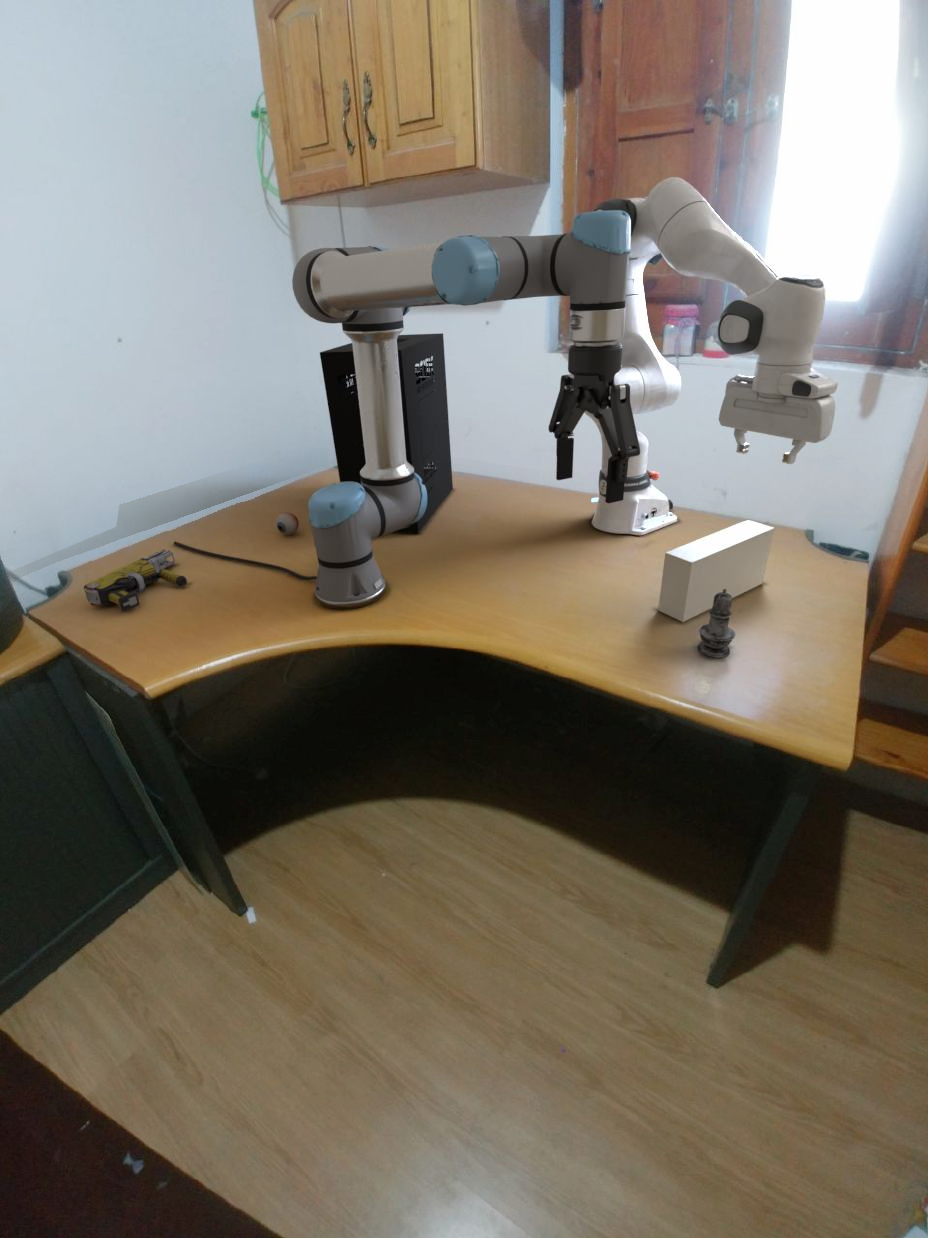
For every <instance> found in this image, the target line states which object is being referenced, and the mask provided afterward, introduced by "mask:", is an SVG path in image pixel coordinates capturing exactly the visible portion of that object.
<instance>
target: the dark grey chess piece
mask: <svg viewBox="0 0 928 1238" xmlns="http://www.w3.org/2000/svg"><path fill="white" fill-rule="evenodd" d="M726 592H727V590H726V589H724V590H723V592H720V593H717V594H716V595H715V597H714V601H713V607H712V608H711V609H709V610H708V613H709V615H710V617H709V622H708V623H705V624H702V625H701V626H700V627H699V628H698V633H699V634H700V635H699V636H700V640H701V642H700V643H698V645H697V649H698V651H699V652H700V653H701V654H703V655H705V656H707V657H710V658H715V659H716V658H720V659H721V658H726V657H727V656H729V655H730V653H731V648H730V647H729V646H730V644H731V643H732V641H733V640H734V639H735V637H736V632H735V630H734V629H732V627H730V626H729V622H730V619H731V617H732V616H733V613H732V611H731V610H732V605H733V598H732V596H731V595H730V594H728V593H726Z"/></svg>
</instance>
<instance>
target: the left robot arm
mask: <svg viewBox="0 0 928 1238" xmlns="http://www.w3.org/2000/svg"><path fill="white" fill-rule="evenodd" d="M630 230H631V220H630V216H629V215H628V213H626V212H625V211H621V210H608V211H594V212H593V211H587V212H583V213H582V212H581V213H577V214H576V215H575V216H574V218H573V220H572V226H571V231H570V232H566V233H562V234H546V235H544V234H543V235H510V236H508V235H504V236H477V235H475V234H474V235H473V234H470V235H459V236H455V237H451V238H448V239H446V240H445V241H439V242H431V243H425V244H419V245H412V246H405V247H398V248H388V247H381V246H380V247H379V246H372V245H369V246H356V247H355V246H354V247H353V246H351V247H321V248H316V249H313V250H311V251H309V252H307V253H305V254H304V255H303V256H302V257H301V258H300V259H299V260H298V261H297V262H296V265H295V267H294V269H293V274H292V281H291V282H292V283H291V285H292V291H293V296H294V298H295V300H296V303H297V304H298V306H299V307H300V309H302V311H303V312H304V313H305V314H306V315H307V316H309V317H310V318H312V319H314V320H315V321H317V322H319V323H320V322H321V323H323V324H324V323H325V324H341V327H342V329H341V330H342V333H343V334H344V335H345V336H347V337H348V338H349V339H350V341H351V343H352V346H353V354H354V363H355V372H356V377H355V378H356V381H357V389H358V398H359V407H360V415H361V424H362V433H363V441H364V450H365V459H366V464H365V466H364V467H363V468H362V469H361V470H360V478H361V484H359V483H357V482H352V481H346V482H340V481H339V482H338V483H336V482H333V483H330V484H328V485H325V486H323V487H321V488H319V489H317V490H316V491H315V492H313V494H312V495H311V496H310V497H309V500H308V504H307V506H308V508H307V509H308V521H309V524H310V527H311V531H312V537H313V543H314V546H315V552H316V557H317V558H316V559H317V562H318V567H317V568H318V569H317V574H316V575H312V576H307V575H302V574H299V573H297V572H295V571H293V570H291V569H289V568H287V567H283V566H280V565H275V564H271V563H267V562H261V561H256V560H253V559H245V558H241V557H235V556H230V555H226V554H220V553H216V552H212V551H206V550H203V549H199V548H195V547H193V546H189V545H186V544H185V543H184V544H183V543H181V542H178V541H174V542H173V545H175V546H178V547H179V548H180V547H181V548H183V549H186V550H188V551H193V552H195V553H198V554H203V555H207V556H211V557H215V558H220V559H225V560H230V561H235V562H240V563H246V564H251V565H255V566H260V567H265V568H270V569H275V570H279V571H282V572H285V573H288V574H290V575H292V576H293V577H296V578H298V579H301V580H305V581H313V580H314V581H315V584H314V585H315V587H314V594H315V598H316V601H317V603H318V604H320V606H322V607H325V608H329V609H333V610H334V609H335V610H349V609H351V610H352V609H358V608H361V607H365V606H368V605H371V604H373V603H375V602H378V600H380V599H381V598H382V597H383V596H384V595H385V593H386V591H387V585H386V579H385V577H384V576H383V574H382V572H381V570H380V567H379V566H378V564H377V561H376V560H375V557H374V553H373V544H372V542H373V541H375V540H377V539H379V538H382V537H384V536H387V535H389V534H392V532H395V531H397V530H399V529H404V528H407V527H408V526H410V525H411V524H413V523H415V522H417V521H418V520H419V519H420V518H421V517H422V516H423V514H424V512H425V510H426V507H427V491H426V487H425V485H422V479H421V478H420V476H419V475H417V474H416V473H415V472H414V467H413V466H412V465H411V464H409V463H408V462H407V461H406V450H405V437H404V425H403V412H402V400H401V387H400V375H399V362H398V350H397V338H398V336H399V335H401V334H402V332H403V331H404V329H405V326H404V317H405V316H406V315H407V314H408V313H409V312H410V311H411V309H412V308H415V307H430V306H431V307H432V306H447V305H454V306H455V305H456V306H463V307H465V306H466V307H467V306H475V305H479V304H486V303H493V302H500V301H511V300H520V299H522V300H523V299H529V298H544V297H569V311H570V313H569V335H568V340H569V341H570V342H572V343H573V344H571V345H570V346H569V348H568V352H567V353H568V355H567V371H568V374H562V375H561V377H560V383H559V391H558V394H557V398H556V401H555V405H554V406H553V407H554V408H553V411H552V414H551V418H550V421H549V424H548V432H549V433H553V436H554V438H555V440H556V446H555V447H556V451H555V454H556V471H555V472H556V474H555V480H557V481H562V480H567V479H573V474H574V473H573V471H574V450H575V449H574V448H575V447H574V446H575V445H574V444H575V438H574V436H575V434H574V431H575V429H576V427H577V425H578V424H579V422H580V420H581V419H582V417H583V416H584V414H585V413H584V412H585V411H588V412H589V413H592V414H594V417H595V418H596V419H598V420H599V422H600V425H601V428H602V430H603V433H604V435H605V438H606V441H607V443H608V446H609V449H610V451H611V454H612V456H611V457H610V458H609V459H608V471H607V485H606V500H605V502H606V503H608V504H609V503H613V502H618V501H622V500H623V498H624V486H625V481H626V479H627V470H628V460H629V458H630V457H634V456H639V455H640V447H639V442H638V437H637V432H636V430H637V428H636V424H635V418H634V415H633V413H632V408H631V403H630V385H629V384H621V385H615V381H614V376H615V374H616V373H618V372H619V371H620V370H621V367H622V365H621V363H622V349H623V346H621V344H620V343H619V340H621V339H622V338H624V327H625V310H626V307H625V299H626V288H627V276H628V265H629V255H630V253H631V248H630ZM607 406H608V408H607ZM630 447H631V448H630ZM618 448H620V451H619V449H618Z"/></svg>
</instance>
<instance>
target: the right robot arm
mask: <svg viewBox="0 0 928 1238" xmlns="http://www.w3.org/2000/svg"><path fill="white" fill-rule="evenodd" d="M608 210H621V211H625V212H626V213H628V215H629V216H630V220H631V230H630V248H631V253H630V255H629V265H628V276H627V288H626V299H625V307H626V310H625V327H624V338H622V339H621V340H619V343H620V344H621V346H623V349H622V363H621V370H620V371H619V372H618V373H616V374H615V376H614V381H615V385H621V384H629V385H630V403H631V408H632V413H633V416H634V415H639V414H646V413H652V412H653V413H654V412H657V411H661V410H663V409H665V408H668V407H670V406H672V405H673V404H675V402H676V401H677V400H678V398H679V396H680V394H681V390H682V378H681V375H680V372H679V371H678V369H677V368H676V367H675V366H674V365H672V364H671V363H670V362H668V361H667V360H666V359H665V358H664V357H663V355H662V353H660V351H659V350H658V348H657V346H656V344H655V342H654V340H653V337H652V334H651V330H650V325H649V319H648V313H647V305H646V296H645V295H646V294H645V288H644V282H643V279H644V278H643V274H644V270H645V267H646V265H647V264H648V265H649V266H656V265H658V264H659V263H660V262H661V260H664V261H665V262H666V263H667V265H668V266H670V268H672V269H673V270H674V271H676V272H677V273H678V274H680V275H682V276H685V277H690V278H699V279H706V280H712V281H718V282H722V283H724V284H727V285H730V286H732V287H734V288H735V289H736V290H737V291H739V293H740V294H741V295H742V296H743V297H742V298H739V299H735V300H733V301H732V302H731V301H730V303H729V304H728V305H727V306H726V307H725V308H724V310H722V313H721V314H720V317H719V320H718V322H717V328H716V337H717V341H718V345H719V346H720V348H721V350H722V351H723V352H724V353H726V354H727V355H731V356H738V357H742V356H750V355H751V356H752V355H756V356H757V359H756V364H755V369H754V373H753V376H750V375H749V376H748V375H747V376H745V375H741V374H737V375H735V376H734V377H731V378H730V379H729V380H728V381H727V382H726V384H725V390H724V393H725V394H724V397H723V400H722V403H721V406H720V410H719V414H718V422H719V424H720V426H721V427H725V428H731V429H733V436H734V439H735V443H736V444H737V445H736V450H735V452H736V453H738V454H743V455H746V454H747V453H749V451H750V449H749V448H750V445H751V442H747V440H746V436H745V434H747V433H748V432H752V433H757V434H762V435H767V436H774V437H779V438H785V439H790V440H792V441H791V446H792V449H791V450H790V451H787V452H784V453H783V455H782V460H781V462H782V464H787V465H792V464H794V463H795V462H796V459H797V454H798V453H799V452H800V451H801V450H802V449H803V448H804V447H805V446H806V444H807V443H810V444H817V443H820V442H824V441H825V440H826V439H827V438H828V437H829V436H830V435H831V433H832V429H833V425H834V420H835V413H836V400H835V399H834V397H833V395H832V394H835V393H836V392H837V389H838V381H837V380H836V379H834V378H831V377H830V376H827V375H825V374H823V373H821V372H819V371H818V370H816V369H814V368H812V366H813V364H814V363H813V362H814V353H813V352H814V347H815V344H816V342H817V339H818V338H819V336H820V331H821V326H822V324H823V319H824V313H825V305H826V286H825V282H823V280H822V279H821V278H819V277H817V276H814V275H809V274H799V273H788V274H782V275H780V274H779V273H778V271H776V270H775V269H774V268H773V267H772V266H771V264H769V263H768V261H767V260H766V259H765V258H764V257H763V256H762V255H761V254H760V253H759V251H757V250H756V249H755V248H753V247H752V245H750V244H749V243H748V242H747V241H746V240H744V239H743V238H742V237H741V236H739V235H738V234H737V233H736V232H735V231H734V230H733V229H731V227H729V225H727V224H726V223H725V222H724V220H722V218H721V217H720V216H719V215H718V214H717V213H716V211H715V210H714V209H713V207H712V206H711V204H710V203H709V202H708V200H706V199H705V197H704V196H703V195H702V194H701V193H700V192H699V191H698V190H697V189H696V188H695V187H694V186H693V185H691V184H690V183H689V182H688V181H686V180H685V179H683V178H681V177H677V176H673V177H672V176H671V177H668V178H667V177H666V178H665V179H663V180H661V181H659V182H658V183H657V184H656V185H655V186H653V188H652V189H651V190H650V192H649V193H648V195H647V196H638V197H628V198H620V197H614V198H611V199H607V200H604V201H601V202H600V203H598V204H597V205H596V206H595V207H594V209H593V210H592V212H594V211H608ZM607 408H608V406H607ZM584 414H585V415H586V416H587V417H588V418H590V419H591V420H592V421H593V422H594V423H595V426H596V427H597V429H598V431H599V435H600V439H601V468H600V470H599V474H598V492H599V493H598V496H597V497H592V498H591V503H596V507H595V511H594V514H593V517H592V520H591V525H592V526H593V527H594V528H595V529H597V530H599V531H601V532H605V533H611V534H623V535H625V534H626V535H632V536H633V535H634V536H645V535H646V534H650V533H652V532H654V531H657V530H660V529H662V528H665V527H668V526H670V525H672V524H675V523H677V522H678V516H677V515H676V514H675V513H674V512H672V511H670V510H673V509H674V504H673V501H672V500H671V499H669V498H668V497H667V496H666V495H665V494H664V493H663V492H661V491H660V490H659V489H658V488H656V487H655V486H654V485H652V483H651V480H653V481H658V479H659V478H660V473H659V472H657V471H654V470H651V471H649V470H648V469H647V466H648V458H649V457H648V455H649V447H650V443H649V440H648V438H647V437H646V435H645V434H644V433H643V432H641V431H639V430H638V429H636V432H637V437H638V442H639V447H640V455H639V456H634V457H630V458H629V460H628V470H627V479H626V481H625V486H624V498H623V500H622V501H618V502H613V503H609V504H608V503H606V502H605V500H606V485H607V471H608V459H609V458H610V457H611V456H612V454H611V451H610V449H609V446H608V443H607V441H606V438H605V435H604V433H603V430H602V428H601V425H600V422H599V420H598V419H596V418H595V417H594V414H592V413H589V412H588V411H585V412H584ZM630 448H631V447H630ZM618 449H619V451H620V448H618Z"/></svg>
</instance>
